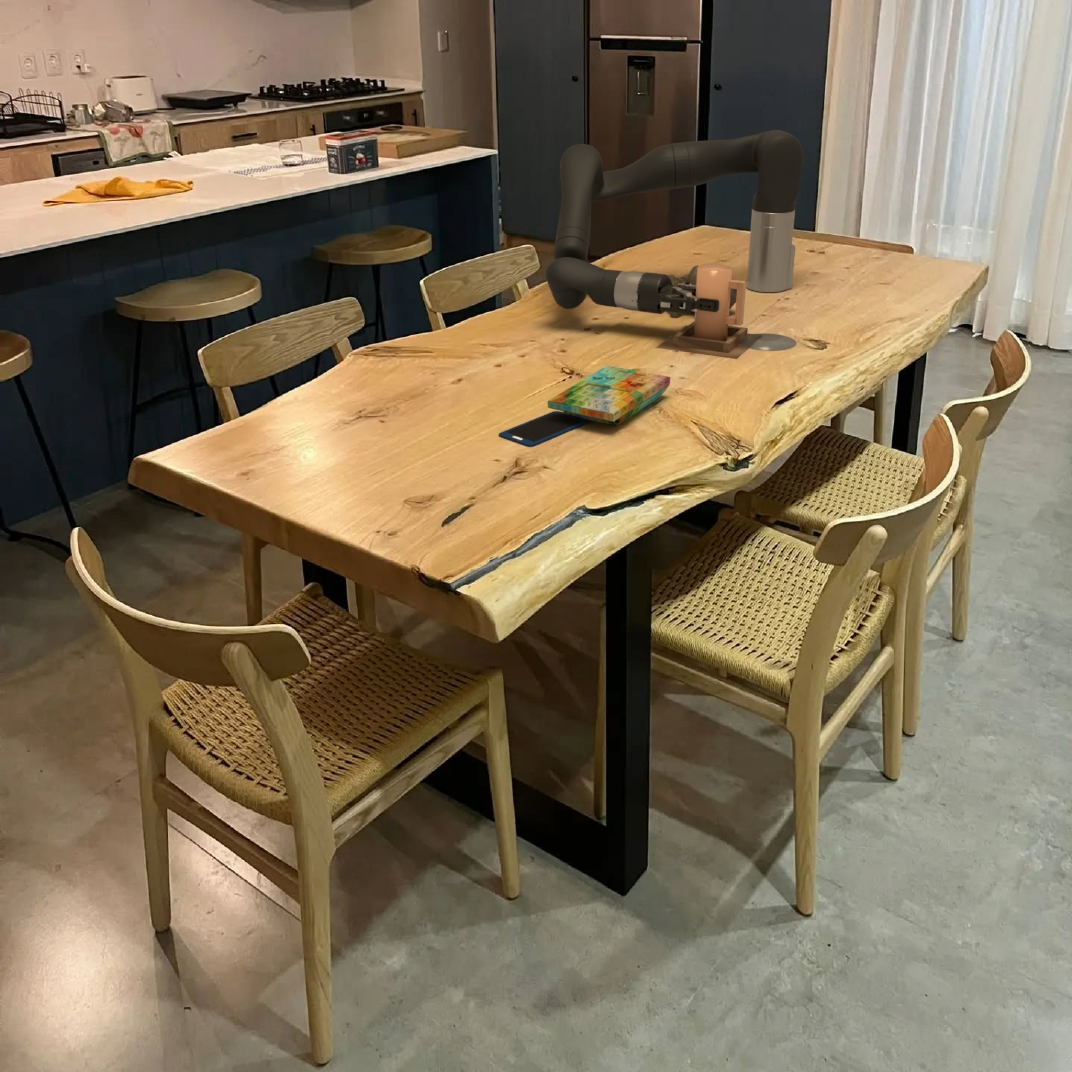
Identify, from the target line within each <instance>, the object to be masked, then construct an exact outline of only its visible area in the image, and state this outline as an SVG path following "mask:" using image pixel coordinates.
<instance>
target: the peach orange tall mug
mask: <svg viewBox="0 0 1072 1072" xmlns="http://www.w3.org/2000/svg"><path fill="white" fill-rule="evenodd" d="M697 266H698V267H697V283H696V297H699V298H708V299H717V300H719V310H718V311H717V312H710V311H702V310H699V309H698V311H696V312H694V320H693V322H694V338H702V339H710V340H717V341H725V342H726V341H727V336H728V326H729V325H730V326H733V325H734V326H738V327H742V326H743V325H744V317H745V316H744V315H745V303H746V302H745V301H746V288H747V287H746V286H747V280H746V281H745V280H734V279H732V275H733V267H732V266H730V265H726V264H719V263H709V264H702V265H697ZM731 288H733V289H737V297H736V303H735V312H734V316H733V315H730V310H729V307H730V292H731Z"/></svg>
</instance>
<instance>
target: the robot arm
mask: <svg viewBox="0 0 1072 1072" xmlns="http://www.w3.org/2000/svg"><path fill="white" fill-rule="evenodd" d="M559 162H560V163H559V171H560V172H559V173H560V186H561V187H560V188H561V201H560V211H559V217H558V221H557V226H556V227H557V228H556V232H555V242H554V247H553V257H554V260H552V261H550V263H549V264H548V265H547V266H546V269H545V279H546V282H547V284H548V287H549V289H550V292H551V295H552V297H553V300H554V301H555V303H556V304H557V305H558V307H560V308H563V309H566V310H573V309H575V308H577V307H579V306H581V304H583V303H584V301H585V300H586V297H587V296H588V297H589V299H591V301H592V303H594V304H595V305H598V306H604V307H611V308H620V309H623V310H627V311H631V312H640V313H648V314H649V313H650V314H656V315H657V314H658V315H662V314H664V313H665V312H669V313H670V312H679V313H687V314H686V315H689V314H691V313H692V312H694V313H695V312H696V311H698V309H699V310H702V311H710V312H717V311H718V310H719V300H717V299H708V298H699V297H696V283H697V282H690V281H686V282H685V284H684V283H683V284H677V285H675V286H674V285H672V284H671V280H670V278H669V276H668V275H669V274H668V275H667V274H665V273H656V272H648V271H646V272H645V271H638V270H637V271H636V270H627V271H624V270H616V269H605V268H602V267H600V266H598V265H596V264H593V263H591V262H588V255H589V249H590V242H591V231H592V227H591V222H592V217H591V216H592V215H591V214H592V212H591V211H592V203H597V202H603V201H606V200H611V199H616V198H620V197H624V196H629V195H635V194H642V193H648V192H649V193H650V192H656V191H663V190H675V189H683V188H690V187H695V186H696V187H697V186H700V185H705V184H707V183H711V182H713V181H715V180H718V179H720V178H724V177H727V176H731V175H732V176H733V175H738V174H757V186H756V191H755V194H754V195H753V198H752V205H751V207H752V208H751V221H750V234H749V244H748V245H749V248H748V260H747V261H748V262H747V274H746V288H747V289H749V290H750V291H755V292H758V293H759V292H760V293H777V292H778V293H779V292H784V291H786V290H789V289H792V287H793V280H794V279H793V278H794V277H793V276H794V267H795V256H796V245H795V244H793V237H794V226H795V225H794V224H795V215H796V213H795V212H796V205H797V200H798V199H799V195H800V189H801V181H802V174H803V173H802V171H803V164H804V150H803V146H802V143H801V141H800V140H799V139H798V138H796V136H795V135H793V134H791V133H789V132H787V131H784V130H781V129H772V130H768V131H767V130H766V131H763V132H760V133H756V134H752V135H747V136H743V137H738V138H733V139H732V138H731V139H714V140H713V139H712V140H696V141H695V140H694V141H683V142H675V143H668V144H664V145H660V146H657V147H656V148H654V149H652V150H650V151H649V152H647V153H646V154H645V155H643V156H641V157H640V158H639V159H637V160H636V161H634V162H633V163H631V164H629V165H627V166H625V167H622V168H617V169H612V170H606V171H604V163H603V162H604V161H603V159H602V155H601V153H600V151H599V150H598V149H597V148H595V146H592V145H590V144H585V143H578V144H574V145H572V146H570V147H569V148H567V149H566V150H565V151H564V152H563V154H562V155H561V159H560V161H559ZM731 297H732V292H730V301H731Z"/></svg>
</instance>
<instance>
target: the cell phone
mask: <svg viewBox="0 0 1072 1072" xmlns="http://www.w3.org/2000/svg"><path fill="white" fill-rule="evenodd" d="M588 423H589V420H587V419H583V418H579V417H576V416H573V415H569V414H566V413H564V412H563V411H560V410H553V411H550V412H548V413H545V414H543V415H541V416H539V417H538V416H537V417H536V418H533V419H531V420H529V421H526V422H523V423H521V424H517V426H513V427H511V428H508V429H506V430H503V431H501V432H499V433H498V437H499V438H501V439H504V440H507V441H510V442H512V443H515V444H518V445H521V446H524V447H527V448H533V447H537V446H539V445H542V444H544V443H546V442H548V441H550V440H552V439H555V438H558V437H560V436H563V435H564V434H567V433H570V432H571V431H574V430H576V429H578V428H580V427H584V426H586V425H587V424H588Z"/></svg>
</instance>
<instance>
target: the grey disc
mask: <svg viewBox="0 0 1072 1072" xmlns="http://www.w3.org/2000/svg"><path fill="white" fill-rule="evenodd" d="M749 334H750V335H749V336H747V338H746V340H747V341H746V340H745V339H744V340H743V341H742V342H741V343H740V344H741V345H742V346H744V347H745V346H746V347H747V348H749V347H750V348H749V349H751V350H755V351H761V352H763V351H764V352H779V351H780V352H781V351H787V350H790V349H793V348H795V347H796V346H797V344H798V343H797V341H796V340H795V339H794V338H792V337H789V336H787V335H782V334H779V333H778V334H777V333H764V332H762V333H749ZM751 334H752V335H751ZM760 335H761V336H760ZM754 336H755V337H754ZM751 337H752V338H754V339H755V338H756V340H755V342H754V341H753V339H752V342H751ZM759 338H760V339H759ZM757 339H758V340H757ZM749 340H750V341H749ZM753 342H754V343H753ZM744 343H745V344H744ZM749 343H751V344H752V345H751V344H749Z"/></svg>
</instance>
